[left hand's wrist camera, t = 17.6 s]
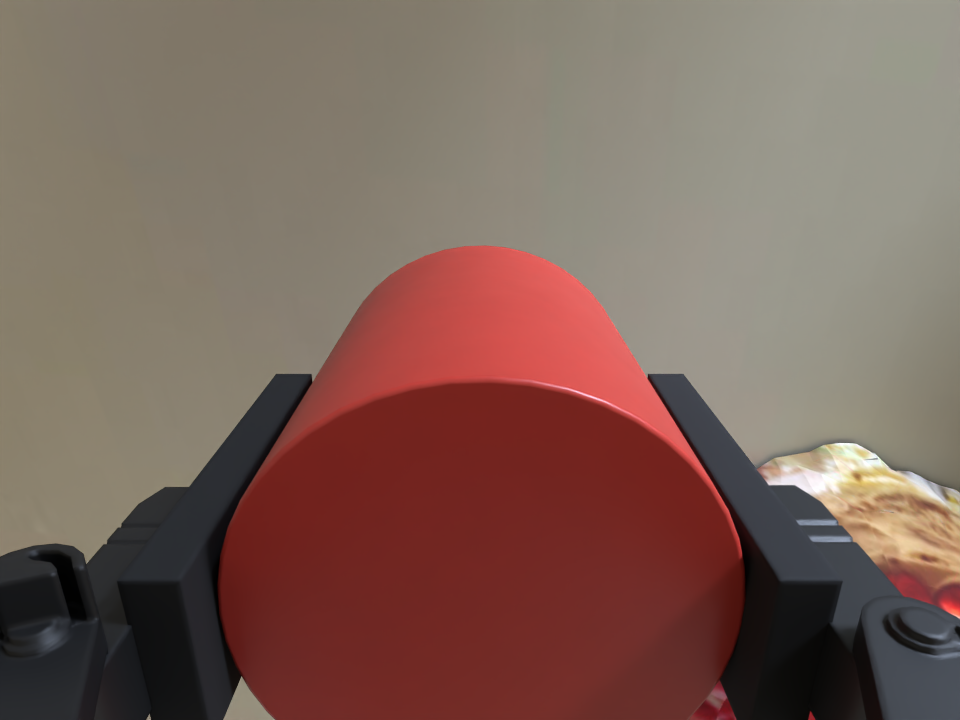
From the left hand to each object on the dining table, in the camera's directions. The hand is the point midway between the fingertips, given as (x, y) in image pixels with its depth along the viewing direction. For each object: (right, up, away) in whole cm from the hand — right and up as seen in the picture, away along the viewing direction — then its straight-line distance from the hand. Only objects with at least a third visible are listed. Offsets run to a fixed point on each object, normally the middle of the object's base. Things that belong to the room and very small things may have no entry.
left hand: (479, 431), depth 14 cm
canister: (0, +1, +2) cm, 2 cm away
